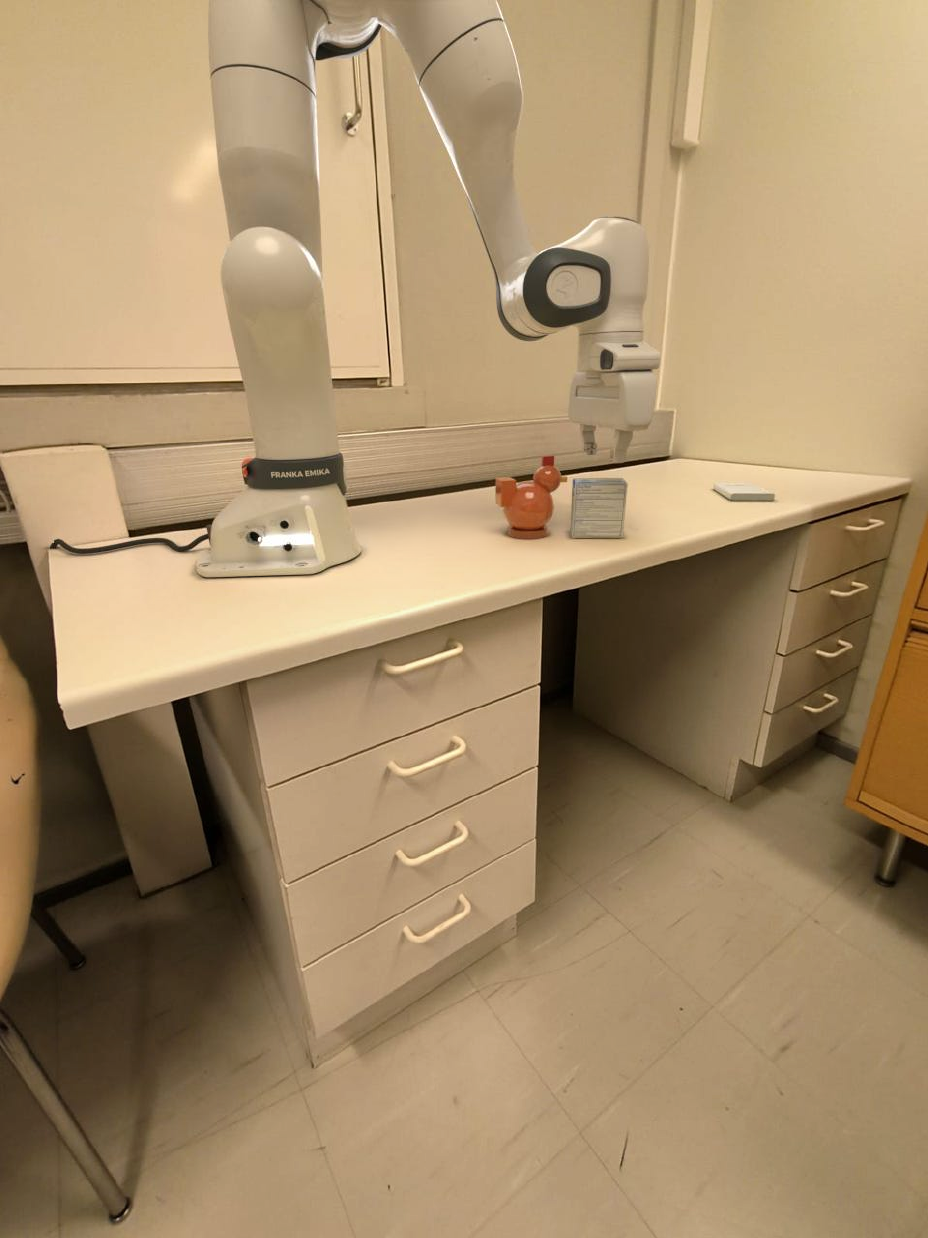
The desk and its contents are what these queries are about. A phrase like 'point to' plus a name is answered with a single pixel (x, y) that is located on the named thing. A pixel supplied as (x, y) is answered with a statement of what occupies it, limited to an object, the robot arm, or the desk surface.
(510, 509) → the ceramic hen
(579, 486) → the medicine box
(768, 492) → the hard drive
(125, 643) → the desk surface
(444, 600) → the desk surface
